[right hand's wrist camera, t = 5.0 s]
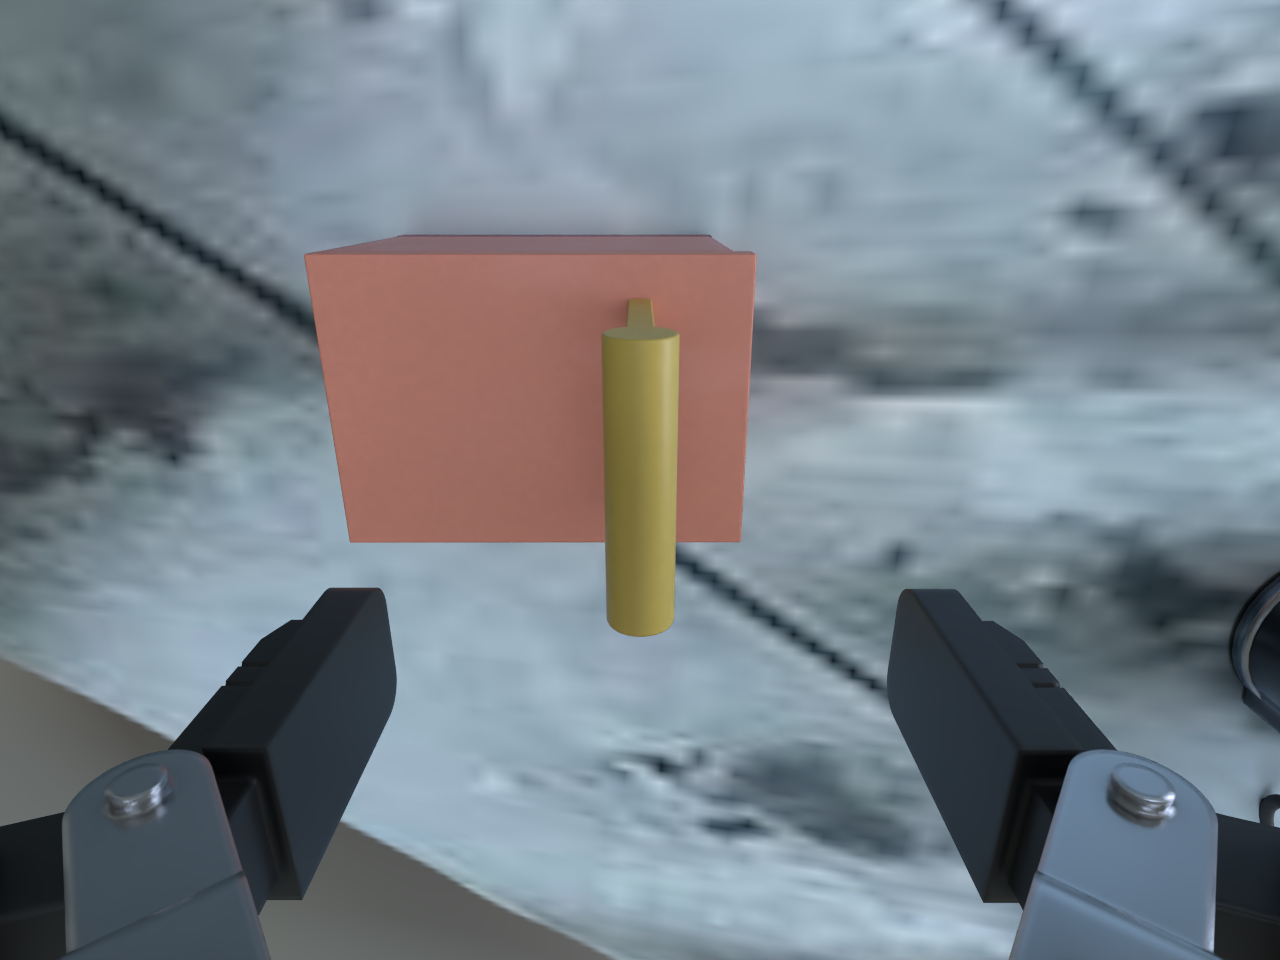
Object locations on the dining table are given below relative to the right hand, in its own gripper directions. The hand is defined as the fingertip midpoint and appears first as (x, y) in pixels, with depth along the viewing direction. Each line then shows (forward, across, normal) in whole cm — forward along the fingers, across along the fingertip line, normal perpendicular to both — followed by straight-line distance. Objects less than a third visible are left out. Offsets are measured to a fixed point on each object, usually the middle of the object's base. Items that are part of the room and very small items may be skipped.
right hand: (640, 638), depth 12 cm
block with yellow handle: (+14, +3, 0) cm, 14 cm away
